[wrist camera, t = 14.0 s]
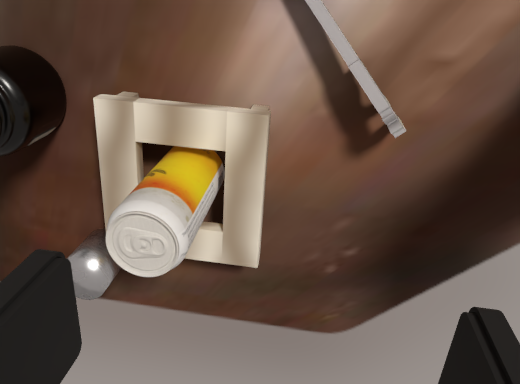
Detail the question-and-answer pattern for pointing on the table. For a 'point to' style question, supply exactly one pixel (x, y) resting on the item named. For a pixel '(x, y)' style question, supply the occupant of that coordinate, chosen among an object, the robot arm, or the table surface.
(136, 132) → the birch stand
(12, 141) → the ink bottle
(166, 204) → the beer can
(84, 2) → the table surface
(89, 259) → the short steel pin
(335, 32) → the caliper
